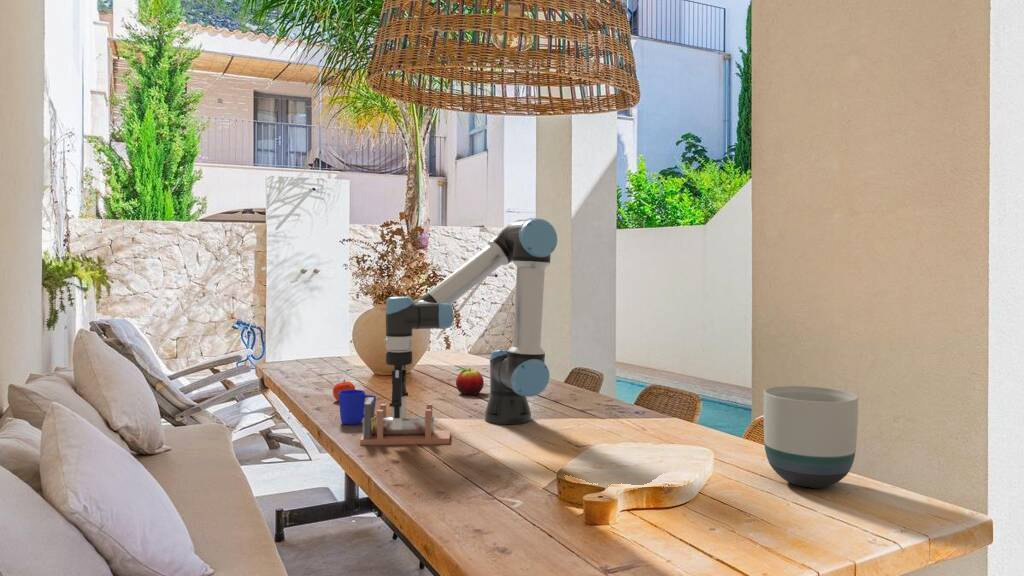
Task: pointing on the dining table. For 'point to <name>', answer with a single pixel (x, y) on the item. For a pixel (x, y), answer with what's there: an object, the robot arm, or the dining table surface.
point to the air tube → (408, 426)
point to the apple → (342, 388)
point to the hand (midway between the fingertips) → (399, 423)
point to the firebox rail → (381, 439)
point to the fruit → (469, 382)
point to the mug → (352, 406)
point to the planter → (810, 433)
